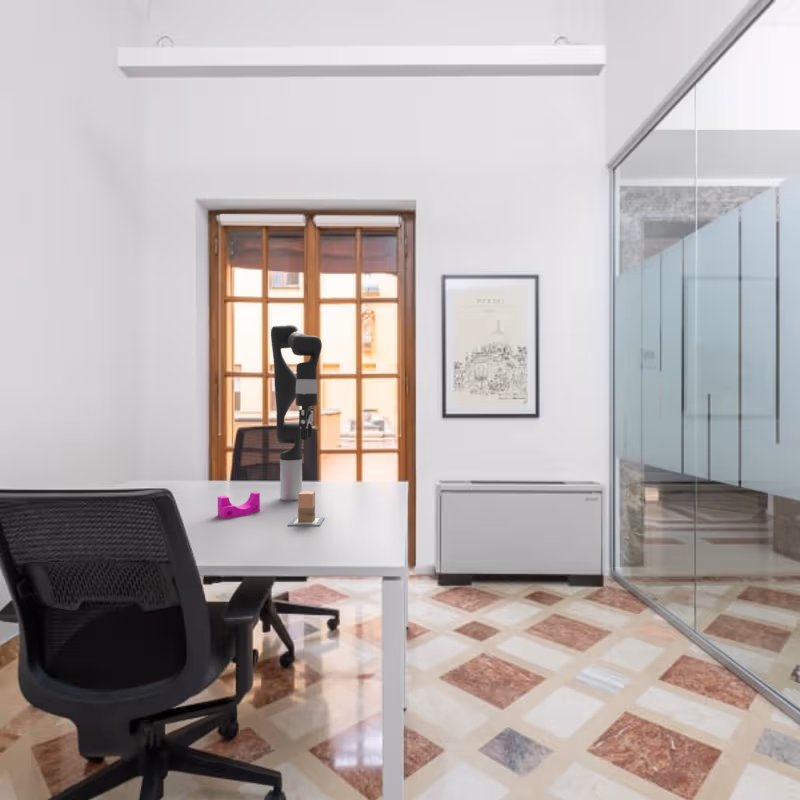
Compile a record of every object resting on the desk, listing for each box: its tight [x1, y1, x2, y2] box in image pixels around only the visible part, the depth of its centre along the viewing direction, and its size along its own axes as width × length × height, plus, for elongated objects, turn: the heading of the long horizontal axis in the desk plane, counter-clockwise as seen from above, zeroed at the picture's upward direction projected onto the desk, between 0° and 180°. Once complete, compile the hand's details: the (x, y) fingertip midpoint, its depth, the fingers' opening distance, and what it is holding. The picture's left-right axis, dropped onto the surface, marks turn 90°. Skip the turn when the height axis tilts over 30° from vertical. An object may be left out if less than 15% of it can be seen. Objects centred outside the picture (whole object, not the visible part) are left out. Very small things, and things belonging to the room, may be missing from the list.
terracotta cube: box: [297, 490, 316, 509], centre depth 188 cm, size 5×5×5 cm
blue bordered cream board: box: [287, 516, 326, 527], centre depth 188 cm, size 11×11×1 cm
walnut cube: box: [297, 505, 316, 523], centre depth 188 cm, size 5×5×5 cm
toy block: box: [217, 491, 261, 520], centre depth 201 cm, size 15×6×8 cm, turn 130°
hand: (306, 438), depth 187 cm, fingers open, 8 cm apart
